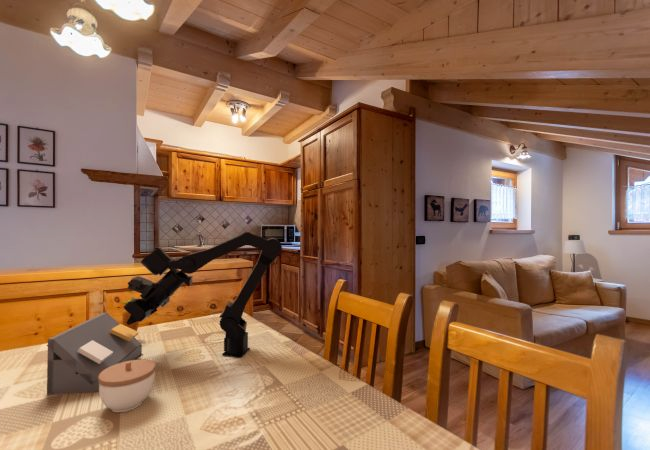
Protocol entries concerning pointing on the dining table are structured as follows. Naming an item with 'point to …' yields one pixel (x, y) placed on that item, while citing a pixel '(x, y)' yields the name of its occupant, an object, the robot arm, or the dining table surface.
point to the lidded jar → (126, 384)
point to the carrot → (126, 317)
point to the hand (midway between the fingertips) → (127, 323)
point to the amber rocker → (124, 332)
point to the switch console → (78, 370)
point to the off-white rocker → (95, 351)
